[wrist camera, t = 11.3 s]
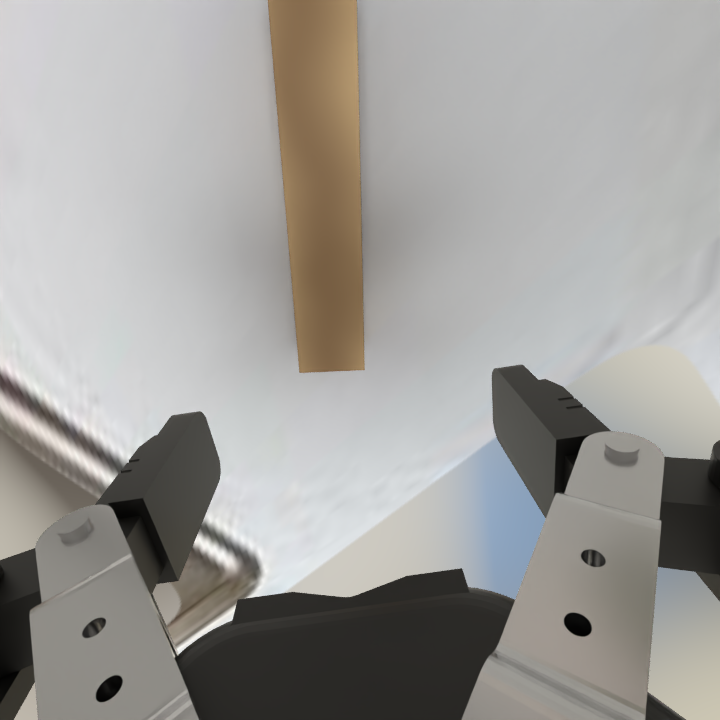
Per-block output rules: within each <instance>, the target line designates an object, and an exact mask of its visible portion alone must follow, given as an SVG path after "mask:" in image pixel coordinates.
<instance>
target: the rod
mask: <svg viewBox="0 0 720 720" xmlns="http://www.w3.org/2000/svg"><path fill="white" fill-rule="evenodd" d="M268 9H269V20H270V32H271V44H272V56H273V67H274V79H275V91H276V103H277V114H278V126H279V138H280V149H281V161H282V173H283V185H284V196H285V208H286V220H287V232H288V243H289V255H290V267H291V278H292V290H293V302H294V314H295V325H296V337H297V349H298V361H299V372H300V373H306V372H329V371H351V370H365V369H364V322H363V275H362V228H361V181H360V134H359V87H358V41H357V0H268Z"/></svg>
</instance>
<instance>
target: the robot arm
mask: <svg viewBox="0 0 720 720" xmlns="http://www.w3.org/2000/svg"><path fill="white" fill-rule="evenodd" d="M492 400H493V424H494V429H495V433H496V436H497V439H498V441H499V443H500V444H501V446H502V447H503V449H504V451H505V453H506V454H507V456H508V457H509V459H510V461H511V462H512V464H513V466H514V467H515V469H516V470H517V472H518V474H519V475H520V477H521V479H522V480H523V482H524V484H525V485H526V487H527V489H528V490H529V492H530V493H531V495H532V497H533V498H534V500H535V502H536V503H537V505H538V507H539V508H540V510H541V511H542V513H543V515H544V516H545V518H546V520H545V523H544V525H543V528H542V531H541V533H540V536H539V538H538V541H537V544H536V546H535V549H534V552H533V554H532V557H531V559H530V562H529V565H528V567H527V570H526V573H525V576H524V578H523V581H522V583H521V586H520V589H519V591H518V594H517V596H516V599H515V600H514V599H511V598H509V597H507V596H504V595H501V594H498V593H495V592H492V591H487V590H483V589H478V588H471V587H468V586H467V583H466V580H465V577H464V573H463V571H462V569H454V570H447V571H441V572H433V573H425V574H418V575H411V576H406V577H403V578H400V579H398V580H395V581H393V582H390V583H387V584H385V585H382V586H380V587H377V588H374V589H372V590H369V591H366V592H364V593H361V594H359V595H356V596H353V597H335V596H326V595H316V594H306V593H296V592H289V593H282V594H275V595H268V596H261V597H254V598H246V599H239V600H238V601H237V605H236V609H235V613H234V617H233V621H230V622H228V623H225V624H223V625H221V626H219V627H217V628H215V629H213V630H212V631H210V632H208V633H207V634H205V635H204V636H202V637H200V638H199V639H197V640H196V641H195V642H193V643H192V644H191V645H189V646H188V647H187V648H186V649H184V650H183V651H182V652H181V653H180V654H178V651H177V649H176V647H175V644H174V642H173V640H172V638H171V635H170V633H169V631H168V628H167V626H166V624H165V621H164V619H163V617H162V614H161V612H160V610H159V608H158V605H157V603H156V601H155V599H154V597H153V594H152V593H153V590H154V588H155V586H156V584H159V583H167V582H174V581H178V580H179V578H180V575H181V573H182V571H183V568H184V566H185V563H186V561H187V558H188V556H189V553H190V551H191V549H192V546H193V544H194V541H195V539H196V536H197V534H198V531H199V529H200V527H201V524H202V522H203V519H204V517H205V514H206V512H207V509H208V507H209V505H210V502H211V500H212V497H213V495H214V492H215V490H216V487H217V485H218V483H219V479H220V472H221V471H220V461H219V457H218V454H217V451H216V447H215V444H214V441H213V438H212V435H211V432H210V429H209V426H208V423H207V420H206V417H205V416H204V414H203V413H202V412H200V411H199V412H192V413H186V414H179V415H173V416H171V417H170V418H169V420H168V421H167V423H166V424H165V425H164V427H163V428H162V429H161V431H160V432H159V434H158V435H156V436H153V437H152V438H151V439H150V440H148V441H147V442H146V443H144V444H143V445H142V446H140V447H139V448H138V449H137V451H136V452H135V453H134V454H133V456H132V457H131V458H130V460H129V463H127V464H126V465H125V466H124V468H123V469H122V470H121V474H118V475H117V477H116V478H115V479H114V481H113V482H112V483H111V485H110V486H109V487H108V488H107V490H106V491H105V492H104V494H103V495H102V496H101V498H100V499H99V500H98V502H97V503H96V504H95V505H92V506H88V507H84V508H81V509H78V510H76V511H74V512H72V513H70V514H68V515H66V516H64V517H62V518H61V519H59V520H58V521H56V522H55V523H53V524H52V525H51V526H50V527H49V528H47V530H45V532H43V534H42V535H41V536H40V538H39V539H38V541H37V543H36V547H35V548H34V549H31V550H29V551H26V552H23V553H20V554H17V555H14V556H11V557H8V558H6V559H3V560H0V720H14V718H15V716H16V714H17V713H18V711H19V709H20V707H21V706H22V704H23V702H24V700H25V698H26V697H27V695H28V693H29V691H30V690H31V688H32V686H33V684H34V682H35V688H36V700H37V712H38V720H686V719H684V718H683V717H682V716H680V715H679V714H677V713H676V712H675V711H673V710H672V709H670V708H669V707H667V706H666V705H665V704H664V703H662V702H661V701H659V700H658V699H657V698H655V697H654V696H652V695H651V694H650V693H648V692H647V690H648V679H649V678H648V677H649V666H650V654H651V642H652V629H653V618H654V606H655V605H654V604H655V594H656V582H657V570H658V567H663V568H671V569H679V570H687V571H694V572H696V573H697V574H698V575H699V576H700V578H701V579H702V580H703V582H704V583H705V584H706V585H707V586H708V588H709V589H710V590H711V591H712V592H713V594H714V595H715V596H716V597H717V598H718V600H719V601H720V440H719V441H718V442H716V443H715V444H714V446H713V449H712V454H711V459H710V460H703V459H687V458H671V457H664V454H663V452H662V451H661V450H660V448H658V447H657V446H656V445H655V444H654V443H652V442H650V441H649V440H646V439H645V438H642V437H639V436H637V435H633V434H629V433H624V432H615V431H610V430H609V429H608V428H607V427H606V426H605V425H604V424H603V423H602V422H600V421H599V420H598V419H597V418H596V417H595V416H594V415H593V414H592V413H591V412H589V410H587V409H586V408H585V407H583V406H582V404H581V403H580V402H579V401H578V400H577V399H574V398H573V396H572V395H571V394H570V393H569V392H568V391H567V390H566V389H565V388H564V387H562V386H560V385H558V384H555V383H553V382H551V381H549V380H546V379H543V380H538V379H537V378H536V377H535V376H534V375H533V374H532V373H531V372H530V371H529V370H528V369H527V368H526V367H525V366H524V365H516V366H509V367H502V368H495V369H494V370H493V372H492Z"/></svg>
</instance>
